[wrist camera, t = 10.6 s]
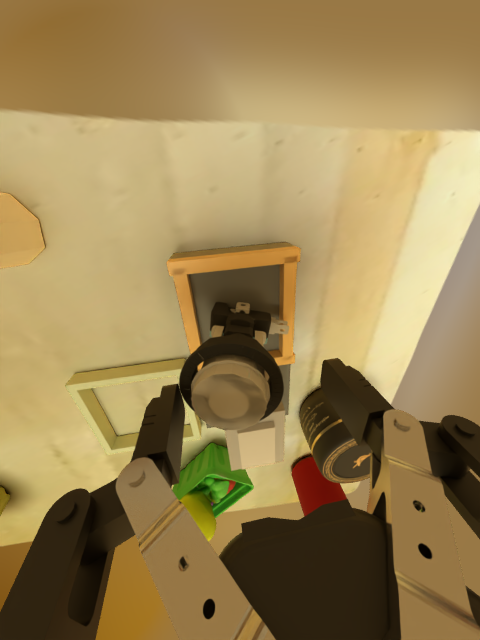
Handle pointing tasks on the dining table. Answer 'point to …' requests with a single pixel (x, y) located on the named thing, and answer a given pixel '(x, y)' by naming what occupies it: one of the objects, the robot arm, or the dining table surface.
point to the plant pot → (3, 499)
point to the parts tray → (85, 381)
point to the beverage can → (314, 486)
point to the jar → (333, 442)
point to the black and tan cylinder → (234, 369)
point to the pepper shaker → (18, 233)
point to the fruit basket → (211, 487)
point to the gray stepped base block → (263, 295)
